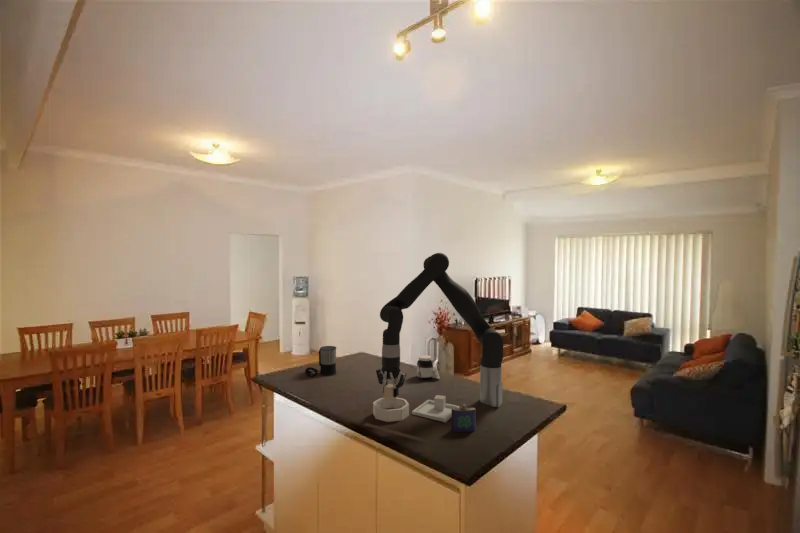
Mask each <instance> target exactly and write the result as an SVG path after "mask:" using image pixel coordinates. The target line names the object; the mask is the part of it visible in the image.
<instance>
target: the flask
mask: <svg viewBox="0 0 800 533" xmlns="http://www.w3.org/2000/svg"><path fill="white" fill-rule="evenodd" d="M476 412H477V410H476V408H475V407H467V405H466V403H462V406H460V408H459V407H458V408H457V407H456V408H453V409H452V417H451V431H452V432H456V433H457V432H458V433H464V432H465V433H467V432H474V431H477V430H476V429H477V428H476V426H477V424H476V422H477V419H476V416H477V415H476Z"/></svg>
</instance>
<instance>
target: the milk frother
mask: <svg viewBox="0 0 800 533" xmlns="http://www.w3.org/2000/svg"><path fill="white" fill-rule="evenodd" d="M336 362H337V346H334V345H325V346H321V347H320V348H319V349H318V365H319V367H320V369H319V370H318V369H316V368H315V367H307V368H305V370H304V374H305V375H306V376H309V377H315V376H317V375H318V372H319V374H320V375H321V376H334V375H336V374H337V363H336ZM313 372H314V373H313Z"/></svg>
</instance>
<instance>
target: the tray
mask: <svg viewBox="0 0 800 533" xmlns="http://www.w3.org/2000/svg"><path fill="white" fill-rule="evenodd" d="M456 407H457V408H458V407H459V408H461V406H459V405H455V404H450V403H446V408H445V409H444V411H439V410H434V399H433V400H432V399H427V400H425V401H424V402H422V403H421V404H420V405H419V406H417V407H416V408H414V409H413V410H412V412H411V414H412V415H413V416H418V417H423V418H426V419H430V420H435V421H437V422H438V421H439V422H443V423H447V422H448V421H449V420H450V419H452V409H453V408H456Z"/></svg>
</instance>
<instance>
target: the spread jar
mask: <svg viewBox="0 0 800 533" xmlns="http://www.w3.org/2000/svg"><path fill="white" fill-rule="evenodd" d="M416 375H417V378H418V379H419V380H423V381H429V380H431V379H433V377H434V375H435V378H436V380H440V374H439V371H438V368H437V366H436V365H435V366H434V363H433V361H432V356H430V355H428V354H427V355H425V354H423V355H419V356H418V361H417V363H416Z"/></svg>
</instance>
